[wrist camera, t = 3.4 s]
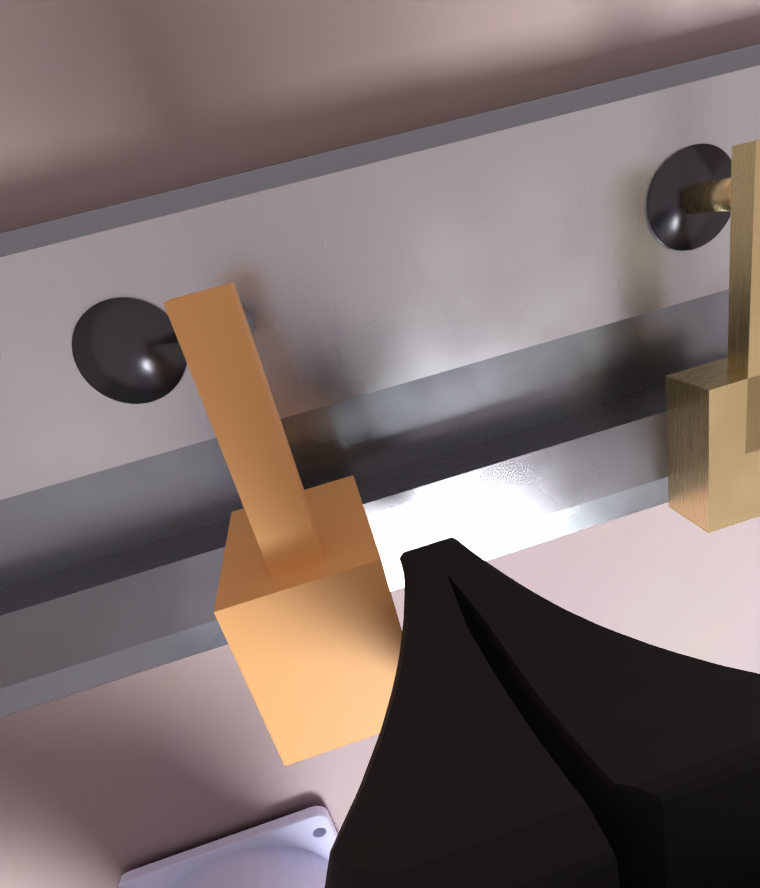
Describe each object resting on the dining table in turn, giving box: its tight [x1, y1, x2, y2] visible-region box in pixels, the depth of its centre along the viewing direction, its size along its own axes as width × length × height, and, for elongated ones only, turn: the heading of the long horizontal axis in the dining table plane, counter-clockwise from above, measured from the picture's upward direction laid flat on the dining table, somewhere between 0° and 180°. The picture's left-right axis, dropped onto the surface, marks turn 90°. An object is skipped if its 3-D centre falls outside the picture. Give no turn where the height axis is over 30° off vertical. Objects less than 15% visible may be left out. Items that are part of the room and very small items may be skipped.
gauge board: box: [0, 44, 760, 717], centre depth 13 cm, size 12×29×4 cm, turn 104°
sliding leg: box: [163, 282, 402, 766], centre depth 11 cm, size 9×3×4 cm, turn 14°
